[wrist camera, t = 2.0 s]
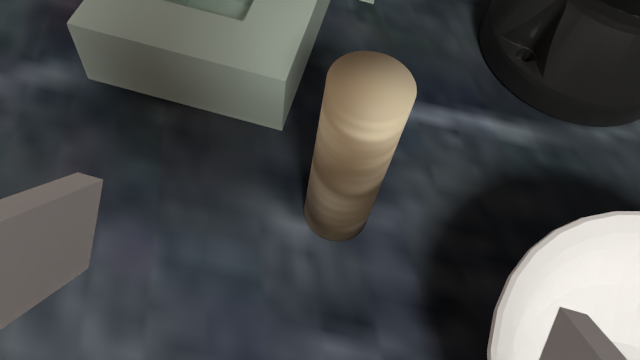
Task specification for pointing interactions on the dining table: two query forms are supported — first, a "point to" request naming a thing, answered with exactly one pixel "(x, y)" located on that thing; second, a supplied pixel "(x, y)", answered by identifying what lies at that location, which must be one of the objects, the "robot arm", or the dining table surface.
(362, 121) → the dowel
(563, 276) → the bowl
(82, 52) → the socket
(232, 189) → the dining table surface
